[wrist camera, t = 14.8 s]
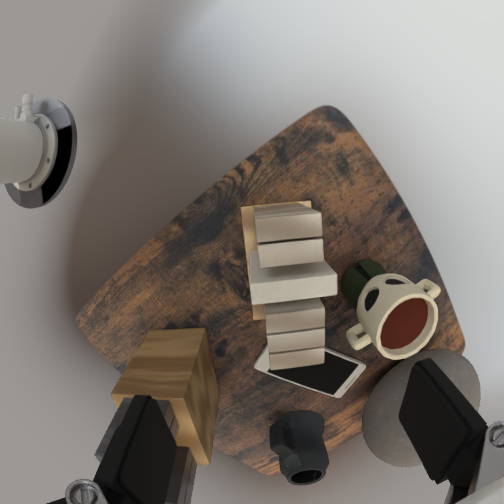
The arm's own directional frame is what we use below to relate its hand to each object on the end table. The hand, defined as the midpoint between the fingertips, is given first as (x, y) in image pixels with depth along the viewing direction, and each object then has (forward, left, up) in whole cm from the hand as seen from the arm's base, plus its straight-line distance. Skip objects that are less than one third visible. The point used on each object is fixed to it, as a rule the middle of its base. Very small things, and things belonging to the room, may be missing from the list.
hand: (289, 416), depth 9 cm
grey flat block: (+1, +2, -25) cm, 25 cm away
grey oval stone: (+22, +20, -26) cm, 39 cm away
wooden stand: (+16, -13, -26) cm, 33 cm away
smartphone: (+18, +5, -26) cm, 32 cm away
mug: (+31, +2, -26) cm, 40 cm away
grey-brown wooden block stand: (+2, +2, -26) cm, 26 cm away
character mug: (+6, +12, -26) cm, 29 cm away
